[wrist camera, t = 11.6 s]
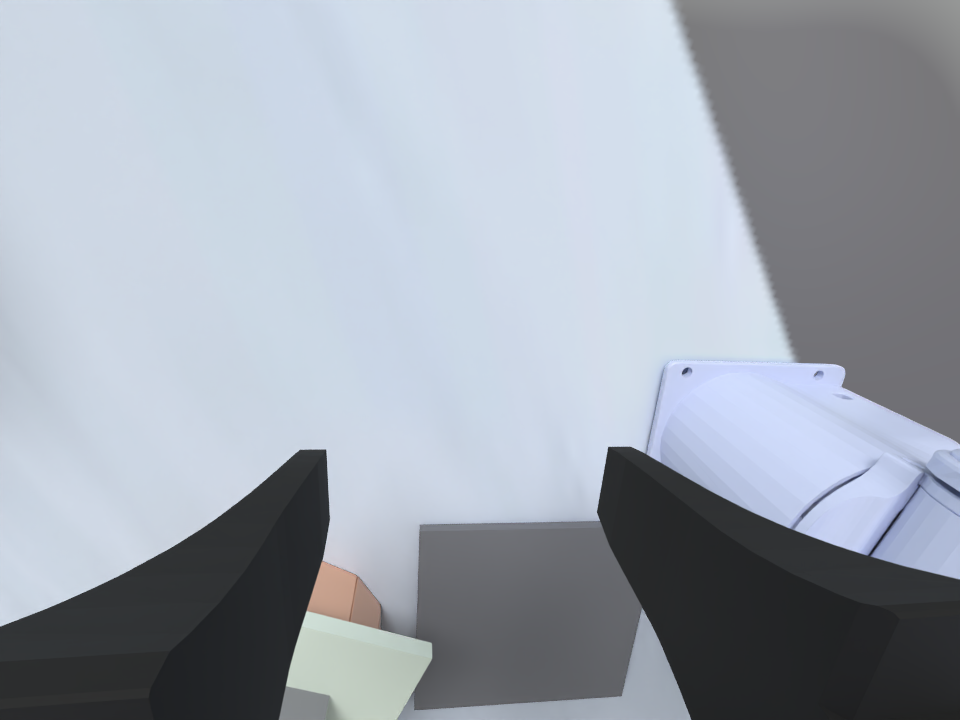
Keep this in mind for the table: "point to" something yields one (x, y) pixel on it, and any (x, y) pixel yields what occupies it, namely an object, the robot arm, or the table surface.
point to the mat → (522, 614)
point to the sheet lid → (351, 671)
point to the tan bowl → (344, 597)
